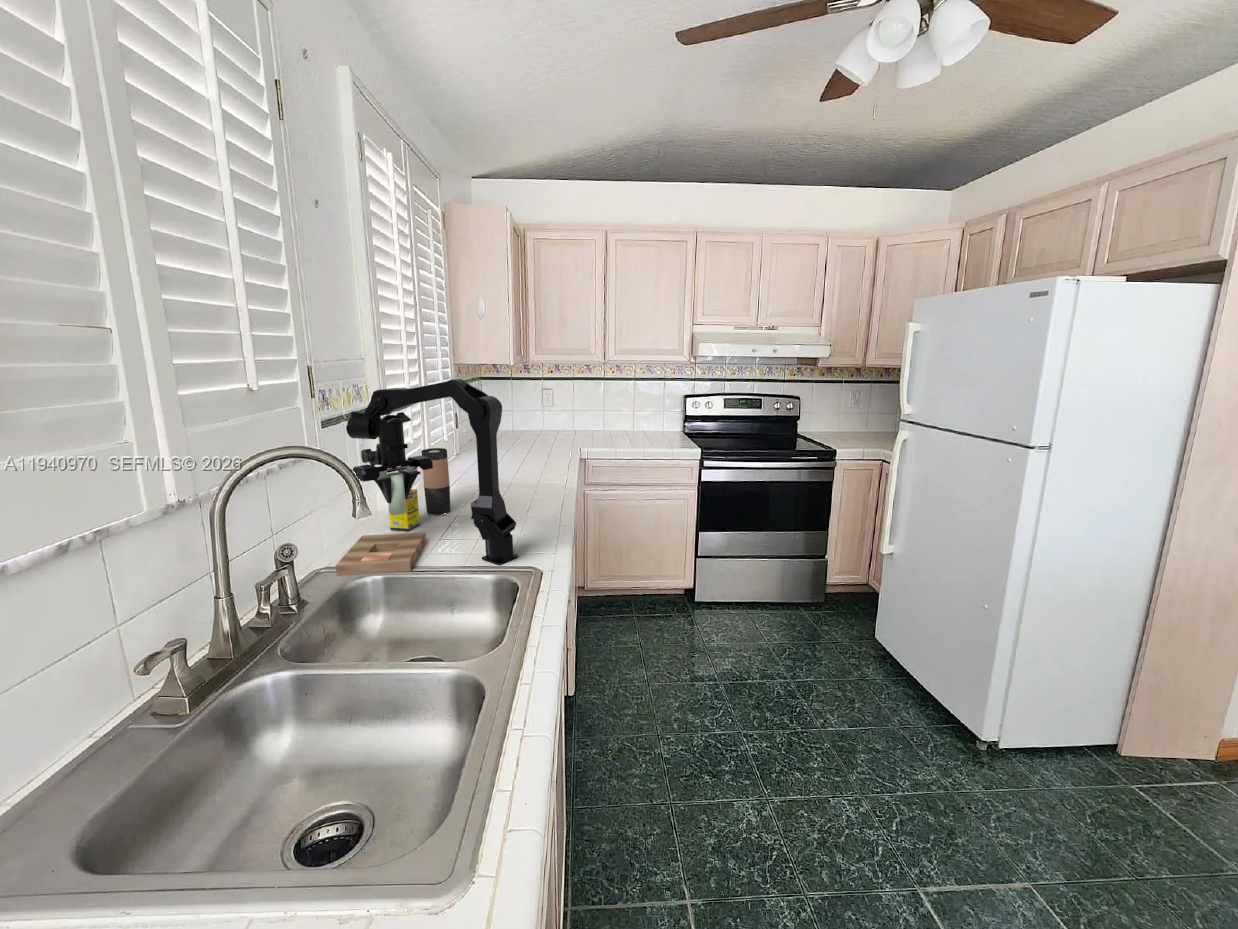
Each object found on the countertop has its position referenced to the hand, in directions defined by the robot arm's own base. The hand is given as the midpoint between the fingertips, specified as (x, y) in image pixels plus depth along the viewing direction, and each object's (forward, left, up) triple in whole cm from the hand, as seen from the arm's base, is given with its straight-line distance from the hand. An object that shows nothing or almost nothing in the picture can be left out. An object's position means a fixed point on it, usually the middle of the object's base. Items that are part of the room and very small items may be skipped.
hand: (397, 501), depth 134 cm
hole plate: (-1, +5, -13) cm, 14 cm away
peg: (0, 0, -3) cm, 3 cm away
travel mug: (+20, -26, -13) cm, 35 cm away
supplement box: (+15, -11, -13) cm, 23 cm away
